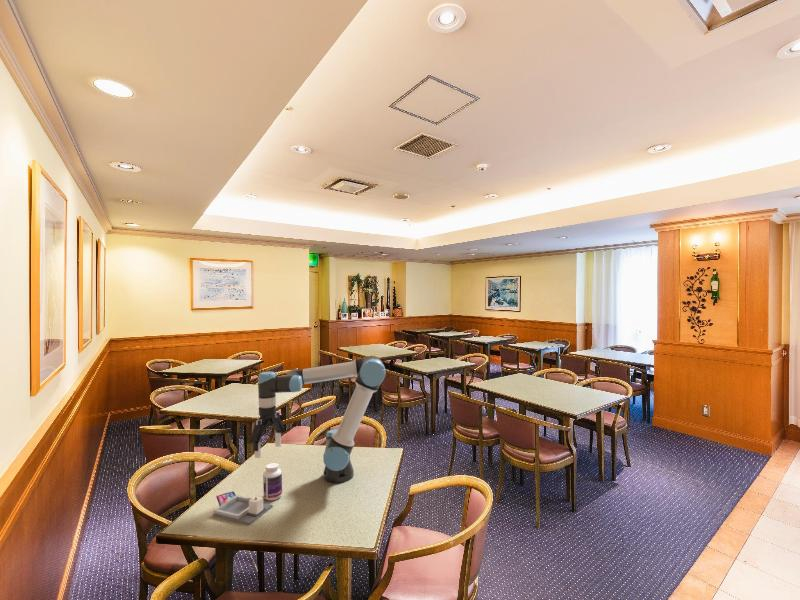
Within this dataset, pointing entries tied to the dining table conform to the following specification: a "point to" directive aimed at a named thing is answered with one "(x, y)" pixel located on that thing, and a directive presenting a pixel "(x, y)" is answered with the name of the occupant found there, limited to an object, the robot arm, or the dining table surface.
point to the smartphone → (225, 497)
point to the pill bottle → (272, 482)
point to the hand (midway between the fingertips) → (268, 451)
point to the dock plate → (242, 509)
